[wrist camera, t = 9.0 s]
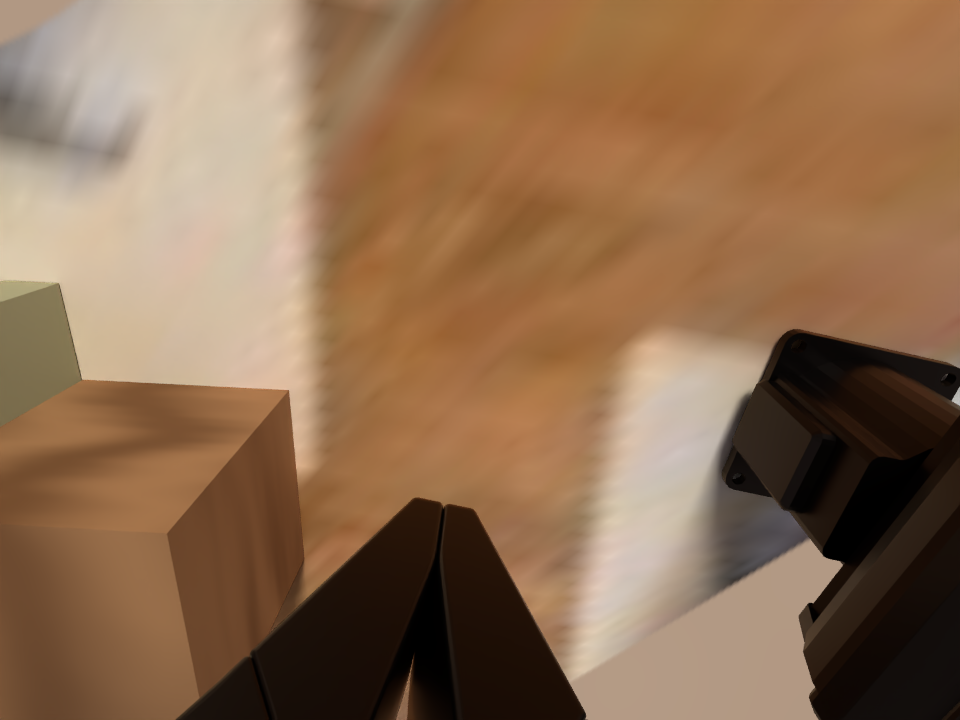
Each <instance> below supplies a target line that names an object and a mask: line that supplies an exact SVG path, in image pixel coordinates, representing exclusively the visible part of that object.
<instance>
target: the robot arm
mask: <svg viewBox="0 0 960 720" xmlns="http://www.w3.org/2000/svg"><path fill="white" fill-rule="evenodd" d="M796 340H801V344H800V345H799V347H798V348H796V349H791V347H792V344H793V343H794V342H795V341H796ZM945 374H948V375H947V377H946V379H945V380H943V381H941V378H942V377H943V376H944V375H945ZM959 387H960V368H958V367H956V366H954V365H952V364H949V363H947V362H943V361H938V360H934V359H929V358H925V357H920V356H916V355H911V354H907V353H902V352H898V351H893V350H889V349H885V348H880V347H876V346H871V345H867V344H862V343H858V342H853V341H849V340H844V339H840V338H835V337H831V336H827V335H822V334H818V333H813V332H809V331H804V330H800V329H793V330H790V331H787V332H786V333H785V334H783V336H782V337H781V339H780V340H779V343H778V345H777V347H776V350H775V352H774V354H773V356H772V359H771V361H770V363H769V366H768V368H767V370H766V372H765V375H764V377H763V379H762V381H761V382H759V383H758V384H757V385H756V387H755V389H754V391H753V393H752V396H751V398H750V400H749V403H748V405H747V407H746V409H745V412H744V414H743V416H742V419H741V421H740V423H739V426H738V428H737V430H736V432H735V435H734V437H733V439H732V442H733V444H734V445H733V447H732V450H731V452H730V454H729V457H728V459H727V461H726V463H725V466H724V468H723V470H722V478H723V480H724V481H725V483H726V484H727V486H728V487H729V488H731V489H734V490H739V491H743V492H748V493H753V494H758V495H762V496H767V497H772V498H774V500H775V501H776V502H777V503H778V505H779V506H780V507H781V508H782V509H783V510H786V511H789V512H790V513H791V515H792V516H793V517H794V518H795V520H796V521H797V522H798V524H799V525H800V526H801V527H802V529H803V530H804V531H805V533H806V534H807V535H808V537H809V538H810V539H811V540H812V542H813V543H814V544H815V546H816V547H817V548H818V549H819V551H820V552H821V553H822V554H823V556H824V557H826V558H828V559H832V560H837V561H840V562H841V563H842V564H843V566H842V568H841V569H840V570H839V572H838V573H837V574H836V575H835V576H834V578H833V579H832V580H831V582H830V583H829V584H828V585H827V587H826V588H825V589H824V591H823V592H822V593H821V595H820V596H819V597H818V598H817V600H816V601H815V602H814V604H813V603H808V604H807V606H806V607H805V609H804V610H803V611H802V612H801V614H800V615H799V621H800V625H801V629H802V634H803V638H804V642H805V644H804V650H803V653H804V656H805V659H806V663H807V665H808V669H809V672H810V675H811V678H812V682H813V684H814V685H815V688H814V689H813V691H812V692H811V693H810V695H809V699H810V702H811V705H812V708H813V710H814V713H815V714H816V716H817V718H818V719H819V720H960V406H959V405H957V404H956V403H954V402H952V401H951V400H952V399H953V397H954V395H955V394H956V392H957V390H958V388H959ZM737 473H741V475H740V476H739V477H738V478H734V479H732V477H733V476H734V475H735V474H737ZM413 656H414V657H413ZM412 660H413V663H412ZM411 665H412V670H411V677H410V688H409V700H408V715H407V720H585V718H586V713H585V711H584V709H583V707H582V706H581V704H580V702H579V700H578V699H577V696H576V695H575V693H574V691H573V689H572V687H571V685H570V684H569V682H568V680H567V678H566V676H565V674H564V673H563V671H562V669H561V667H560V665H559V663H558V662H557V660H556V658H555V656H554V654H553V652H552V651H551V649H550V647H549V645H548V643H547V641H546V640H545V638H544V636H543V634H542V632H541V631H540V629H539V627H538V625H537V623H536V621H535V620H534V618H533V616H532V614H531V612H530V610H529V609H528V607H527V605H526V603H525V601H524V599H523V598H522V596H521V594H520V592H519V590H518V588H517V587H516V585H515V583H514V581H513V579H512V577H511V576H510V574H509V572H508V570H507V568H506V566H505V565H504V563H503V561H502V559H501V557H500V555H499V554H498V552H497V550H496V548H495V546H494V545H493V543H492V541H491V539H490V537H489V535H488V534H487V532H486V530H485V528H484V526H483V524H482V523H481V521H480V519H479V517H478V515H477V513H476V512H475V511H474V510H473V509H471V508H467V507H462V506H457V505H452V504H447V505H445V506H444V509H443V505H442V504H441V503H440V502H437V501H432V500H427V499H423V498H414V499H412V500H411V501H410V502H409V503H408V504H407V505H406V506H405V507H404V508H402V509H401V510H400V511H399V512H398V513H397V514H396V515H395V516H394V517H393V518H392V519H391V520H390V521H389V522H388V523H387V524H385V525H384V526H383V527H382V528H381V529H380V530H379V531H378V532H377V533H376V534H375V535H374V536H373V537H372V538H371V539H369V540H368V541H367V542H366V543H365V544H364V545H363V546H362V547H361V548H360V549H359V550H358V551H357V552H356V553H355V554H354V555H352V556H351V557H350V558H349V559H348V560H347V561H346V562H345V563H344V564H343V565H342V566H341V567H340V568H339V569H338V570H337V571H335V572H334V573H333V574H332V575H331V576H330V577H329V578H328V579H327V580H326V581H325V582H324V583H323V584H322V585H321V586H320V587H318V588H317V589H316V590H315V591H314V592H313V593H312V594H311V595H310V596H309V597H308V598H307V599H306V600H305V601H304V602H303V603H301V604H300V605H299V606H298V607H297V608H296V609H295V610H294V611H293V612H292V613H291V614H290V615H289V616H288V617H287V618H286V619H284V620H283V621H282V622H281V623H280V624H279V625H278V626H277V627H276V628H275V629H274V630H273V631H272V632H271V633H270V634H268V635H267V636H266V637H265V638H264V639H263V640H262V641H261V642H260V643H259V644H258V645H257V646H256V647H255V648H254V649H253V650H251V652H250V655H249V656H245V657H244V658H242V659H241V660H240V661H239V662H238V663H237V664H236V665H235V666H234V667H233V668H232V669H231V670H230V671H229V672H228V673H227V674H226V675H224V676H223V677H222V678H221V679H220V680H219V681H218V682H217V683H216V684H215V685H214V686H213V687H212V688H210V689H209V690H208V691H207V692H206V693H205V694H204V695H203V696H201V697H200V698H199V699H198V700H197V701H196V702H195V703H193V704H192V705H191V706H190V707H189V708H188V709H187V710H186V711H184V712H183V713H182V714H181V715H180V716H179V717H178V718H177V719H175V720H396V717H397V714H398V711H399V708H400V704H401V701H402V698H403V695H404V691H405V688H406V684H407V681H408V677H409V673H410V669H411Z"/></svg>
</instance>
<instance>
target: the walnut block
mask: <svg viewBox="0 0 960 720" xmlns="http://www.w3.org/2000/svg"><path fill="white" fill-rule="evenodd" d="M303 560H304V550H303V539H302V528H301V517H300V507H299V496H298V485H297V474H296V463H295V452H294V441H293V430H292V420H291V409H290V398H289V390H272V389H252V388H233V387H213V386H194V385H174V384H155V383H136V382H116V381H97V380H81V381H80V382H78V383H76V384H74V385H73V386H71V387H69V388H67V389H66V390H64V391H62V392H60V393H59V394H57V395H55V396H53V397H52V398H50V399H48V400H46V401H45V402H43V403H41V404H39V405H38V406H36V407H34V408H32V409H31V410H29V411H27V412H25V413H24V414H22V415H20V416H18V417H17V418H15V419H13V420H11V421H10V422H8V423H6V424H4V425H3V426H1V427H0V720H175V719H177V718H178V717H179V716H180V715H181V714H182V713H183V712H184V711H186V710H187V709H188V708H189V707H190V706H191V705H192V704H193V703H195V702H196V701H197V700H198V699H199V698H200V697H201V696H203V695H204V694H205V693H206V692H207V691H208V690H209V689H210V688H212V687H213V686H214V685H215V684H216V683H217V682H218V681H219V680H220V679H221V678H222V677H223V676H224V675H226V674H227V673H228V672H229V671H230V670H231V669H232V668H233V667H234V666H235V665H236V664H237V663H238V662H239V661H240V660H241V659H242V658H244V657H245V656H249V655H250V652H251V650H253V649H254V648H255V647H256V646H257V645H258V644H259V643H260V642H261V641H262V640H263V639H264V638H265V637H266V636H267V635H268V634H269V632H270V630H271V628H272V626H273V624H274V621H275V619H276V617H277V615H278V613H279V611H280V609H281V607H282V605H283V602H284V600H285V598H286V596H287V594H288V592H289V590H290V588H291V585H292V583H293V581H294V579H295V577H296V575H297V573H298V571H299V569H300V566H301V564H302V562H303Z"/></svg>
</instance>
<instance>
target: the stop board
mask: <svg viewBox="0 0 960 720" xmlns="http://www.w3.org/2000/svg"><path fill="white" fill-rule="evenodd" d="M80 381H81V376H80V372H79V368H78V364H77V360H76V355H75V351H74V347H73V343H72V338H71V334H70V330H69V326H68V322H67V317H66V313H65V309H64V305H63V300H62V296H61V292H60V288H59V284H58V283H43V282H22V281H1V282H0V427H1V426H3V425H4V424H6V423H8V422H10V421H11V420H13V419H15V418H17V417H18V416H20V415H22V414H24V413H25V412H27V411H29V410H31V409H32V408H34V407H36V406H38V405H39V404H41V403H43V402H45V401H46V400H48V399H50V398H52V397H53V396H55V395H57V394H59V393H60V392H62V391H64V390H66V389H67V388H69V387H71V386H73V385H74V384H76V383H78V382H80Z"/></svg>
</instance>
